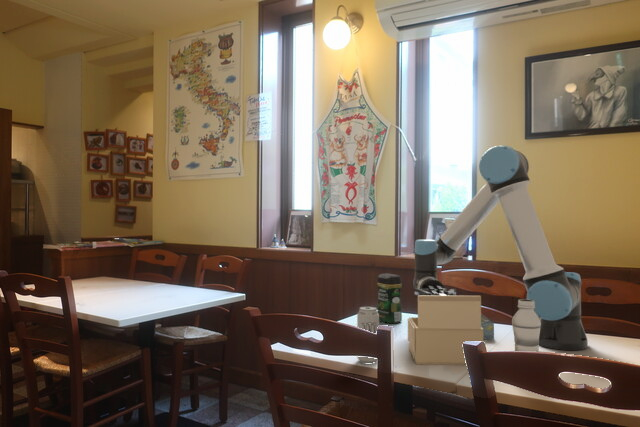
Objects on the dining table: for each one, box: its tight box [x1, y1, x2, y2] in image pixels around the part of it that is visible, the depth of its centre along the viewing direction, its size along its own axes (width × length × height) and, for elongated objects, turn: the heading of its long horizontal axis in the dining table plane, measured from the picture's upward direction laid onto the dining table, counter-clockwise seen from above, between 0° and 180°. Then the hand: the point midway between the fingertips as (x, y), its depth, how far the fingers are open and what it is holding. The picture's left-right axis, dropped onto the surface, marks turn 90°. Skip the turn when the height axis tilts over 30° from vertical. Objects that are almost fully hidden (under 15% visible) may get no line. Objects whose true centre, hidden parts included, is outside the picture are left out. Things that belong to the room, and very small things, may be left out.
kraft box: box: [407, 317, 484, 366], centre depth 138 cm, size 19×14×10 cm
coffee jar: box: [376, 272, 403, 324], centre depth 187 cm, size 10×8×19 cm
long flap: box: [417, 295, 482, 329], centre depth 131 cm, size 17×9×1 cm
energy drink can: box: [356, 306, 380, 364], centre depth 134 cm, size 6×6×15 cm
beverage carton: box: [481, 313, 495, 341], centre depth 168 cm, size 8×19×7 cm, turn 177°
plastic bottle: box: [511, 298, 541, 353], centre depth 118 cm, size 6×7×20 cm
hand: (446, 302), depth 131 cm, fingers closed
